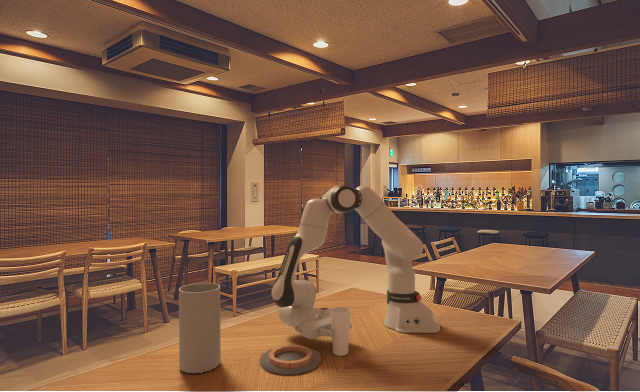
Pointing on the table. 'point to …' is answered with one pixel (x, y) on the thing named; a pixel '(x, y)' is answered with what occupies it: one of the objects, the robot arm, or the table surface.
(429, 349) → the table surface
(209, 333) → the cylinder vase
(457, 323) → the table surface
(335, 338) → the drinking glass
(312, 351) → the round tray
